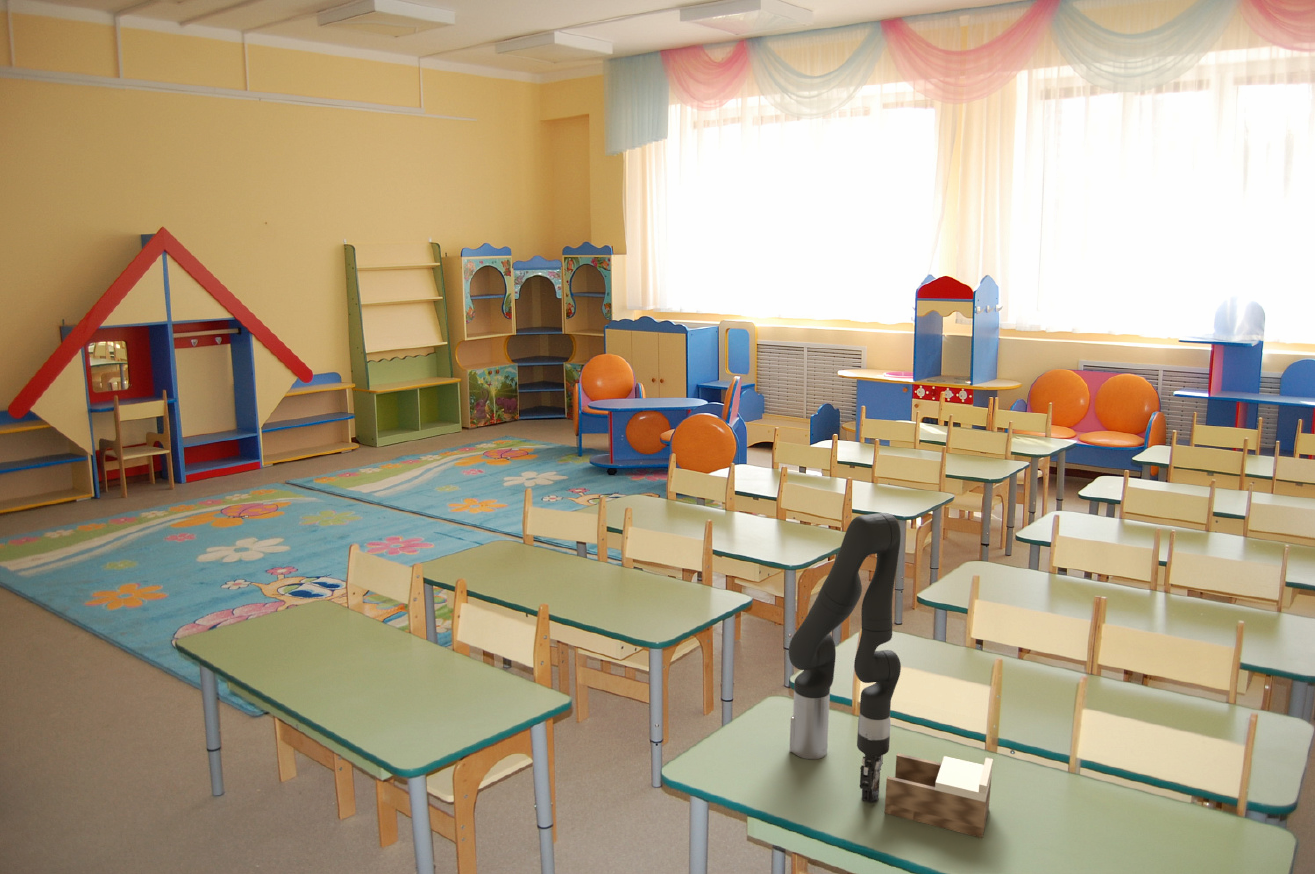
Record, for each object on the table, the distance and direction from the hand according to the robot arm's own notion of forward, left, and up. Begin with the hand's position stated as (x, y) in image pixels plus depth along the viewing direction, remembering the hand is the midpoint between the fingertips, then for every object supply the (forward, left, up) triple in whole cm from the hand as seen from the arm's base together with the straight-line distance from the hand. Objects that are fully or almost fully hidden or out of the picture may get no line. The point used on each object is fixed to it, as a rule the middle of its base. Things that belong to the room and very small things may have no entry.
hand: (870, 792), depth 231 cm
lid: (+21, +1, +8) cm, 22 cm away
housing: (+15, +2, -1) cm, 16 cm away
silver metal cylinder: (0, 0, -1) cm, 1 cm away
